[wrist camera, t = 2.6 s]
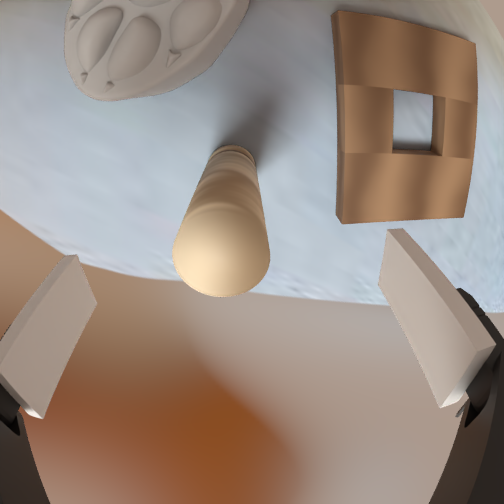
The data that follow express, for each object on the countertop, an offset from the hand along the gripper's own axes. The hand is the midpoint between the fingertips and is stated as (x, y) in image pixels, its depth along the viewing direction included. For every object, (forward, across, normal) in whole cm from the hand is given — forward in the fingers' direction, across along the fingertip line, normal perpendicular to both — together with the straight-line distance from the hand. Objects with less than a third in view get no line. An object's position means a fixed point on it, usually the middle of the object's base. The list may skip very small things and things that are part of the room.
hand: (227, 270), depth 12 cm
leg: (+14, 0, 0) cm, 15 cm away
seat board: (+15, +16, +4) cm, 22 cm away
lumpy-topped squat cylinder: (+15, -4, +13) cm, 20 cm away
